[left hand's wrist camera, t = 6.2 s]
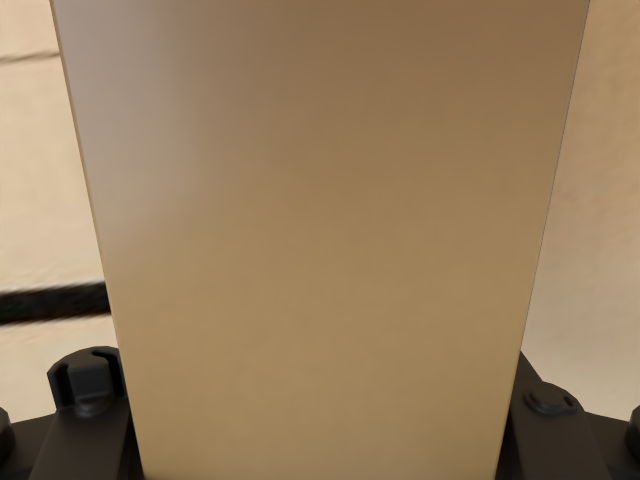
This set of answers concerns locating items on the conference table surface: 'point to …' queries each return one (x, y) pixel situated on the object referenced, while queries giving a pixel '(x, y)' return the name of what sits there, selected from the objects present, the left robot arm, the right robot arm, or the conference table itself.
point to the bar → (319, 222)
